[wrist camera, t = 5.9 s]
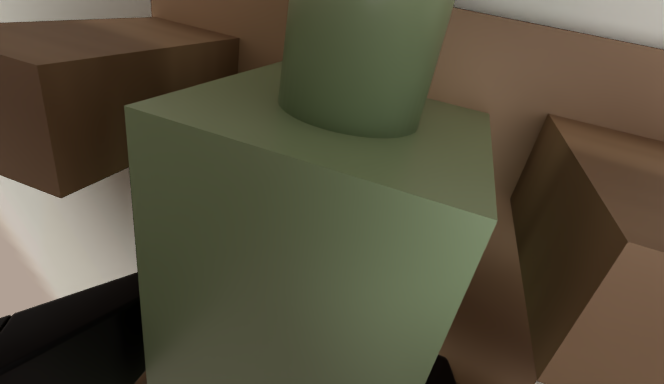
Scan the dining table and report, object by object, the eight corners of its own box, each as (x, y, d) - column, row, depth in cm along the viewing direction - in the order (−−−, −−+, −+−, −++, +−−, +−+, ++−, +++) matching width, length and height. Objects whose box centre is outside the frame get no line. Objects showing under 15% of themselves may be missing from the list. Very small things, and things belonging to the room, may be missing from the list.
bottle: (380, 404, 13) (333, 588, 9) (251, 348, 14) (155, 491, 10) (602, -190, 6) (871, -616, 2) (311, -216, 7) (71, -528, 3)
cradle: (477, 442, 14) (474, 706, 9) (182, 316, 16) (43, 461, 11) (712, 58, 8) (1210, 175, 2) (177, -49, 10) (-141, -104, 5)
